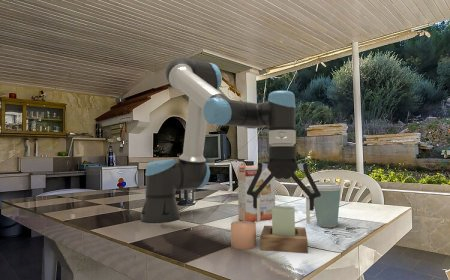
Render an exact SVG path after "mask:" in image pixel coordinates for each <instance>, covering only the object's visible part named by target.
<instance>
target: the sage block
mask: <svg viewBox="0 0 450 280" xmlns="http://www.w3.org/2000/svg"><path fill="white" fill-rule="evenodd" d="M295 210H296V209H295V206H282V205H275V206H273V209H272V219H271V226H272V235H286V236H295V227H296V222H295V221H296V220H295V219H296V218H295V216H296V215H295Z"/></svg>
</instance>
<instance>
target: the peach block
mask: <svg viewBox="0 0 450 280" xmlns="http://www.w3.org/2000/svg"><path fill="white" fill-rule="evenodd" d="M230 247H231V248H234V249H236V250H252V249H254V248H256V247H257V223H256V222H255V221H242V220H237V221H236V220H235V221H232V222H231V223H230Z"/></svg>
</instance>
